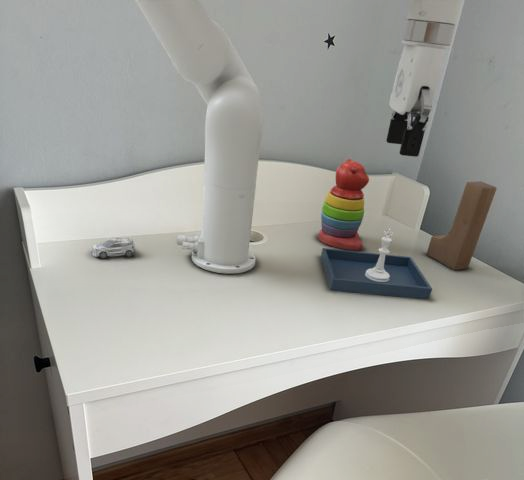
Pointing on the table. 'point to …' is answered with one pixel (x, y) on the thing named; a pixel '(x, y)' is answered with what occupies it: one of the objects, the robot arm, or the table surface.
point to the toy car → (114, 248)
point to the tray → (354, 280)
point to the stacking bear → (344, 208)
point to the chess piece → (380, 262)
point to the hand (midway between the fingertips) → (401, 149)
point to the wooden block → (464, 227)
